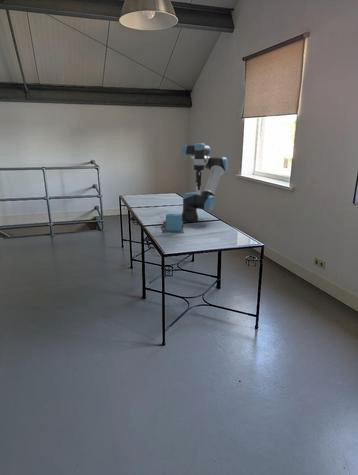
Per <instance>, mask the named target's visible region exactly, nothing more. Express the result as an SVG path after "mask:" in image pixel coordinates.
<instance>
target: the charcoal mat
mask: <svg viewBox="0 0 358 475" xmlns="http://www.w3.org/2000/svg"><path fill="white" fill-rule="evenodd" d="M161 233H162V234H184V227H183V228H182V230H181V231H167V230H166V228H162V229H161Z"/></svg>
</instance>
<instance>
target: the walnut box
mask: <svg viewBox="0 0 358 475" xmlns="http://www.w3.org/2000/svg"><path fill="white" fill-rule="evenodd" d="M161 227H162V228H166V220H162V226H161ZM182 228H183V229H184V221H182Z"/></svg>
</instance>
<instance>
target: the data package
mask: <svg viewBox="0 0 358 475" xmlns="http://www.w3.org/2000/svg"><path fill="white" fill-rule="evenodd" d="M165 221H166V230H167V231H181V230H182V222H183V221H182V213H181V214H180V213H167V214H165Z"/></svg>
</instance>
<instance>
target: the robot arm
mask: <svg viewBox="0 0 358 475" xmlns="http://www.w3.org/2000/svg"><path fill="white" fill-rule="evenodd" d="M211 151H212V149H211V147H210V146H209V145H206V144H205V143H203V142H202V143H201V142H200V143H199V142H198V143H197V142H196V143H195V144H194V145H193V144H183V145H182V147H181V154H182V155H184V156H188V157H190V158H191V159H193V162H194V163H193V164H194V165H193V170H194V171H196V172H195V191H191V192H185V193H183V195H182V212H181V215H182V222H187V223H188V222H189V223H190V222H191V223H193V222H197V221H199V215H198V212H197V211H198V210H205V211H211V210H213V209H214V207H215V205H216V201H217V198H216V196H215V192H216V189H217V187H218V185H219V182H220V179H221V176H222V175H224V173H225V172H227V171H228V169H229V161H228V158H227V157H225V156H209V155H210V154H211ZM204 169H205V170H209V171H211V173H210V175H209V177H208V180H207V183H206V185H205V187H204V190H203V191H201V190H202V189H201V187H202V172H201V171H204Z"/></svg>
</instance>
